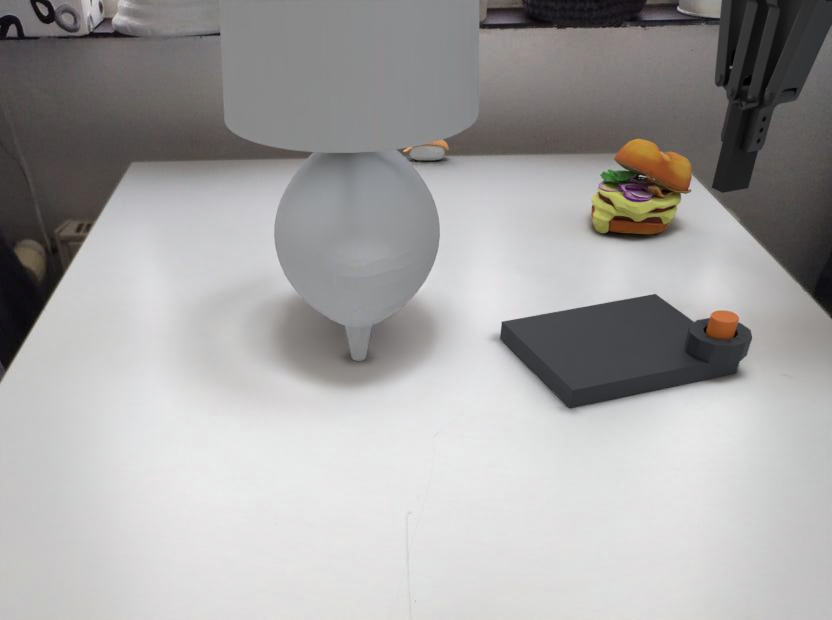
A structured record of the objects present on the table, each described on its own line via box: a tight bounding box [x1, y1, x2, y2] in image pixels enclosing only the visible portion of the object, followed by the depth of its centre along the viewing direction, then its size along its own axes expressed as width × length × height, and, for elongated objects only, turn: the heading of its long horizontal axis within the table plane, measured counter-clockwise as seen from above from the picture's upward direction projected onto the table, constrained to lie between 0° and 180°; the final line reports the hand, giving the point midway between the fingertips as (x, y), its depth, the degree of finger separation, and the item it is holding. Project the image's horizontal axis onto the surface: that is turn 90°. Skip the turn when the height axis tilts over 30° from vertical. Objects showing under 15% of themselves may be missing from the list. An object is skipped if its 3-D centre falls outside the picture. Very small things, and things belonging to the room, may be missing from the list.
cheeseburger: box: [590, 138, 693, 236], centre depth 104 cm, size 10×11×10 cm
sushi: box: [402, 139, 450, 162], centre depth 124 cm, size 3×6×3 cm, turn 88°
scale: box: [499, 293, 753, 409], centre depth 83 cm, size 18×15×4 cm
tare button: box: [706, 309, 740, 339], centre depth 79 cm, size 2×2×2 cm
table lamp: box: [218, 0, 480, 362], centre depth 75 cm, size 23×22×40 cm
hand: (729, 187), depth 78 cm, fingers closed
